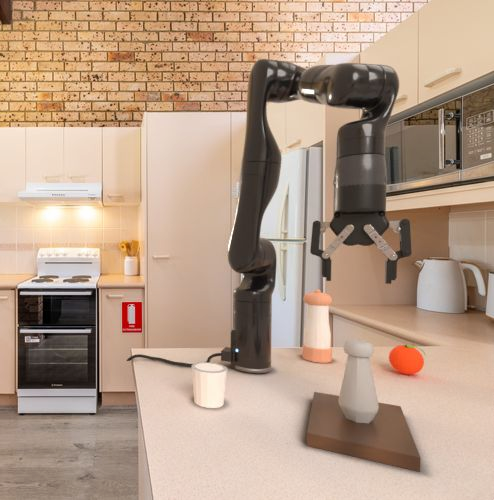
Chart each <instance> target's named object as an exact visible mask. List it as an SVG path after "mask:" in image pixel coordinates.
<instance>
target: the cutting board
mask: <svg viewBox="0 0 494 500" xmlns="http://www.w3.org/2000/svg"><path fill="white" fill-rule="evenodd" d="M338 399H339V395H337V394H330V393H324V392H318V391H314V392H313V395H312V402H311V409H310V413H309V417H308V418H309V419H308V424H307V431H306V446H307V447H311V448H315V449H320V450H323V451H329V452H333V453H337V454H341V455H346V456H350V457H351V456H352V457H354V458H359V459H364V460H368V461H372V462H376V463H380V464H385V465H390V466H394V467H397V468H402V469H407V470H411V471H415V472H421V455H420V452H419V450H418V448H417V445H416V441H415V439H414V437H413V434H412V432H411V430H410V427H409V425H408V422H407V420H406V417H405V414H404V411H403V409H402V406H401V405H395V404H392V403H391V404H389V403H384V402H379V401H378V405H379V408H378V412H377V414H376V415H375V417H374V419H373V420H372V421H371V422H370V423H358V422H354V421H352V420H349V419H347V418H345V415H344V413H343V411H342V409H341V407H340V405H339V403H338Z"/></svg>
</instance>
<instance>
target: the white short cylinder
mask: <svg viewBox="0 0 494 500" xmlns="http://www.w3.org/2000/svg"><path fill="white" fill-rule="evenodd" d="M192 364H193V365H192V367H191V375H192V376H191V377H192V388H193V389H192V390H193V402H194V404H196V405H197V406H199V407H202V408H206V409H218V408H221V407H223V406H224V402H225V394H226V386H227V385H226V384H227V374H228V368H227V367H226V366H225V365H223V364H220V363H216V362H209V363H208V362H206V361H204V362H196V363H192Z"/></svg>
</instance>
